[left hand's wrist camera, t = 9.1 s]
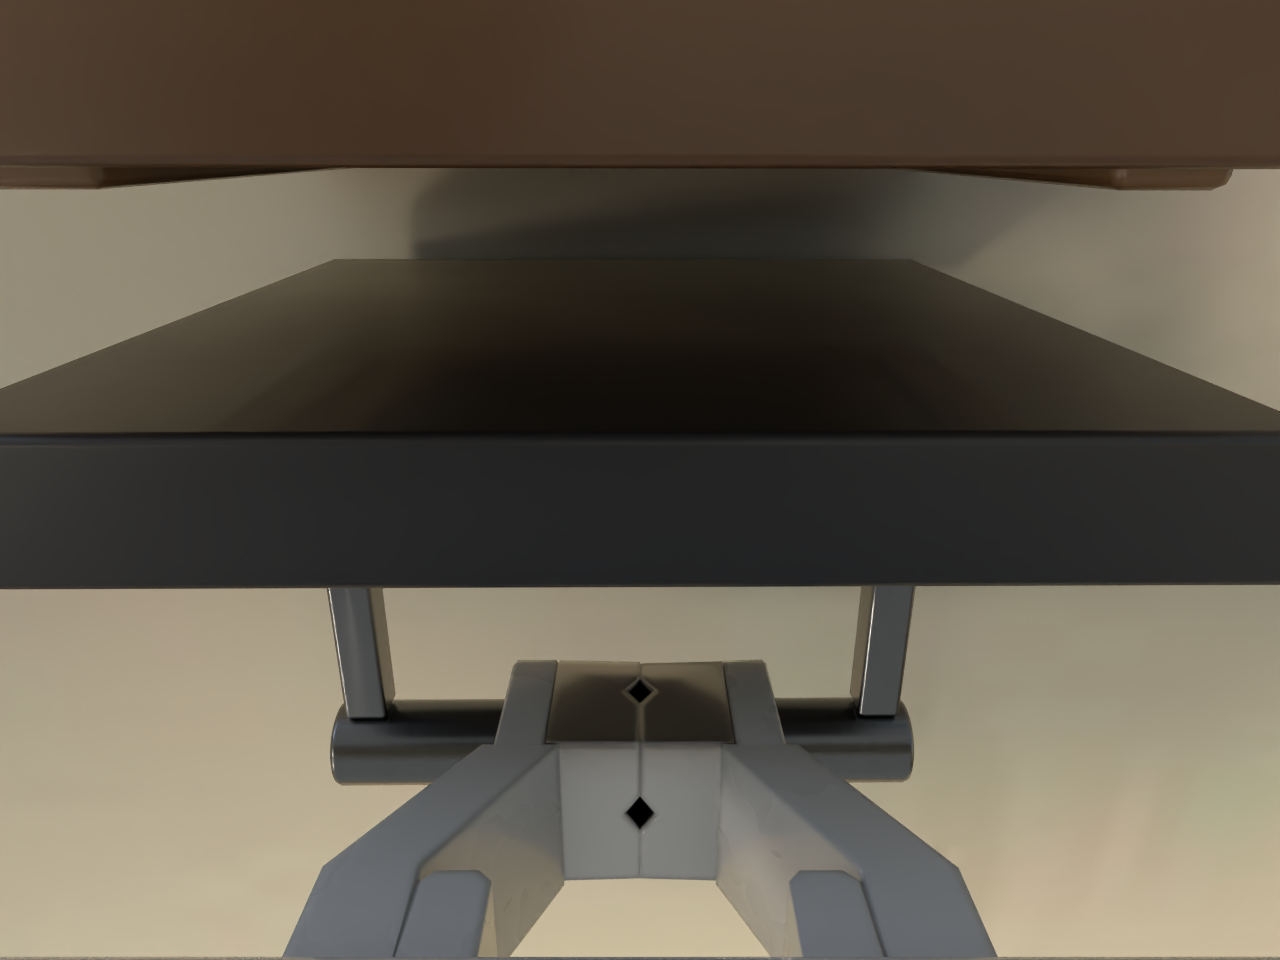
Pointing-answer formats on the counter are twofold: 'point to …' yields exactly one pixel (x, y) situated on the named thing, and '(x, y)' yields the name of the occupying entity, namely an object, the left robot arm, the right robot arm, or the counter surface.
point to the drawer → (627, 454)
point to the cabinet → (641, 84)
